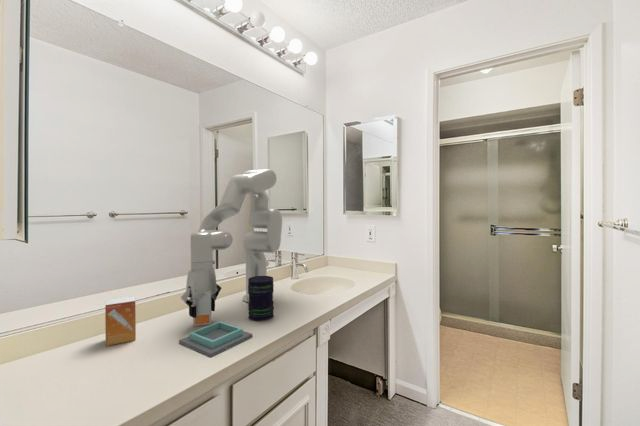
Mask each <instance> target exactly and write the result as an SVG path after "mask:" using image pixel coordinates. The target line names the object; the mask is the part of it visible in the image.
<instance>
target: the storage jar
mask: <svg viewBox="0 0 640 426" xmlns="http://www.w3.org/2000/svg"><path fill="white" fill-rule="evenodd" d="M248 282H249V283H248V294H249V302H247V303H248V304H247V312H248V319H249V320H250V321H253V322H265V321H268V320H271V319H272V318H273V317H275V316H274V313H275V311H274V310H275V307H274V306H275V302H274V288H275V285H274V277H273V276H270V275H267V276H255V277H251V278H249V279H248Z"/></svg>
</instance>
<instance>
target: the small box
mask: <svg viewBox="0 0 640 426" xmlns="http://www.w3.org/2000/svg"><path fill="white" fill-rule="evenodd" d="M104 309H105V311H104V313H105V315H104V316H105V320H104V321H105V323H104V324H105V328H104V329H105V332H104V334H105V347H108V346H112V345H118V344H123V343H128V342H133V341H136V339H137V338H136V336H137V334H136V333H137V332H136V327H137V324H136V322H137V320H136V318H137V317H136V311H137V310H136V296H135V295H133V296H127V297H117V298H113V299H106V300H105V306H104Z"/></svg>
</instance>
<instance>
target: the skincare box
mask: <svg viewBox="0 0 640 426" xmlns="http://www.w3.org/2000/svg"><path fill="white" fill-rule="evenodd" d="M195 306H196V317H195V318H193V317H192V318H193V319H192V323H193V324H192V327H196V326H209V325H212V324H211V323H212V311H211V291H209V292H205V293H204V297H202V298H198V299H197V301H196V304H195Z"/></svg>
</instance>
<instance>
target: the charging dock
mask: <svg viewBox="0 0 640 426" xmlns="http://www.w3.org/2000/svg"><path fill="white" fill-rule="evenodd" d="M188 333H189V334H188V336H186V337H183V338H180V339H179V340H178V342H179V343H178V344H180V345H182V346H184V347H187V348H189V349H192V350H194V351H195V352H199V353H201V354H203V355H205V356H207V357H210V358H212V357H214V356H217V355H218V354H220V353H222V352H225V351H226V350H229V349H230V348H233V347H235V346H237V345H239V344H241V343H243V342H245V341H247V340H250V339H252V338H253V333H252V332H248V331H244V329H243V328H241V327H239V326H236V325H233V324H229V323H226V322H224V321H217V322H214V323H212V324H210V325H205V326H204V327H202V328H199V329H196V330H194V331H191V332H188Z"/></svg>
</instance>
